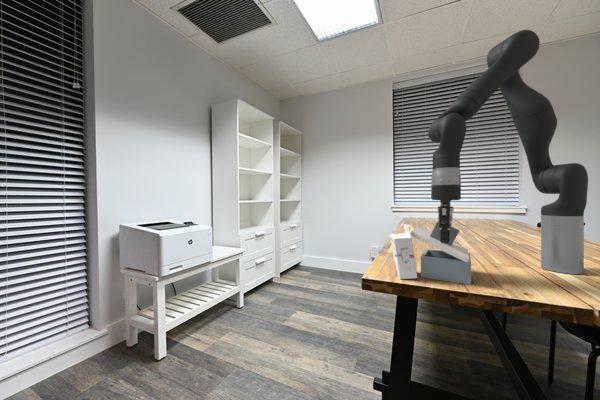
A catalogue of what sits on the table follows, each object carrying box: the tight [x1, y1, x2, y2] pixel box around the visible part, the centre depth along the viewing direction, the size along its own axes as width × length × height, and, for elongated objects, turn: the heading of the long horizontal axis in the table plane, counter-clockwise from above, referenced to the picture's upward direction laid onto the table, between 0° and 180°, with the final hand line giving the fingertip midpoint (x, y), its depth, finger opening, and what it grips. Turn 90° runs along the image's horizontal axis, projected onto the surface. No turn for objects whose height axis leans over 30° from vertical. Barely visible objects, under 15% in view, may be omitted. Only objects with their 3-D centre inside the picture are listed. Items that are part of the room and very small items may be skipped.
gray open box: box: [420, 248, 472, 286], centre depth 73 cm, size 12×12×6 cm
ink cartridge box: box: [389, 223, 418, 280], centre depth 73 cm, size 9×5×15 cm, turn 167°
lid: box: [410, 220, 469, 262], centre depth 73 cm, size 15×15×6 cm
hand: (445, 241), depth 73 cm, fingers open, 4 cm apart
